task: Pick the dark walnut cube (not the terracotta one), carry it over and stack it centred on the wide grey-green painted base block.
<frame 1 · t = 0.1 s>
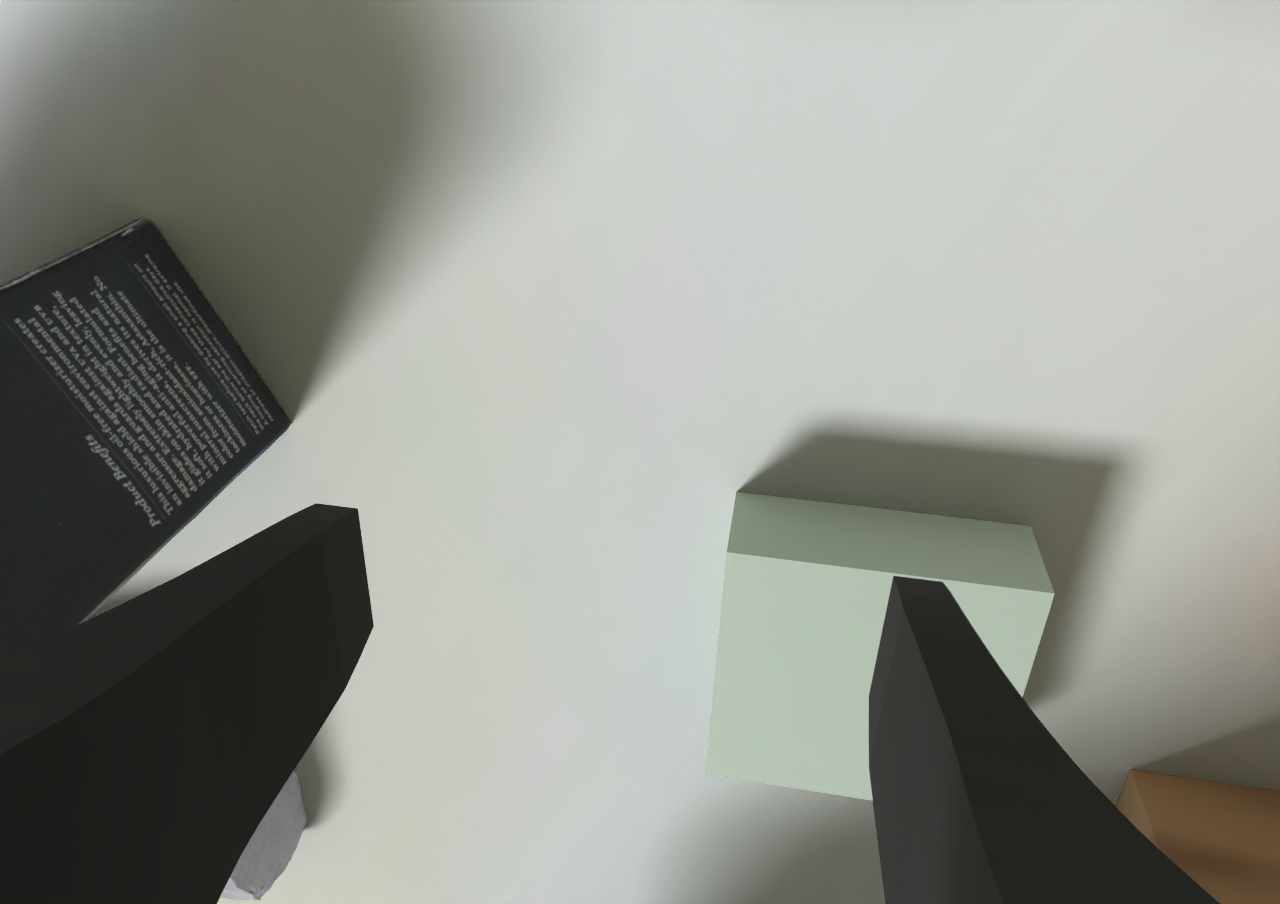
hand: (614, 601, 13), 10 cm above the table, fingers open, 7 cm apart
base block: (859, 613, 25), on the table
stone block: (144, 743, 33), on the table
walnut block: (1191, 837, 26), on the table
small box: (93, 395, 25), on the table
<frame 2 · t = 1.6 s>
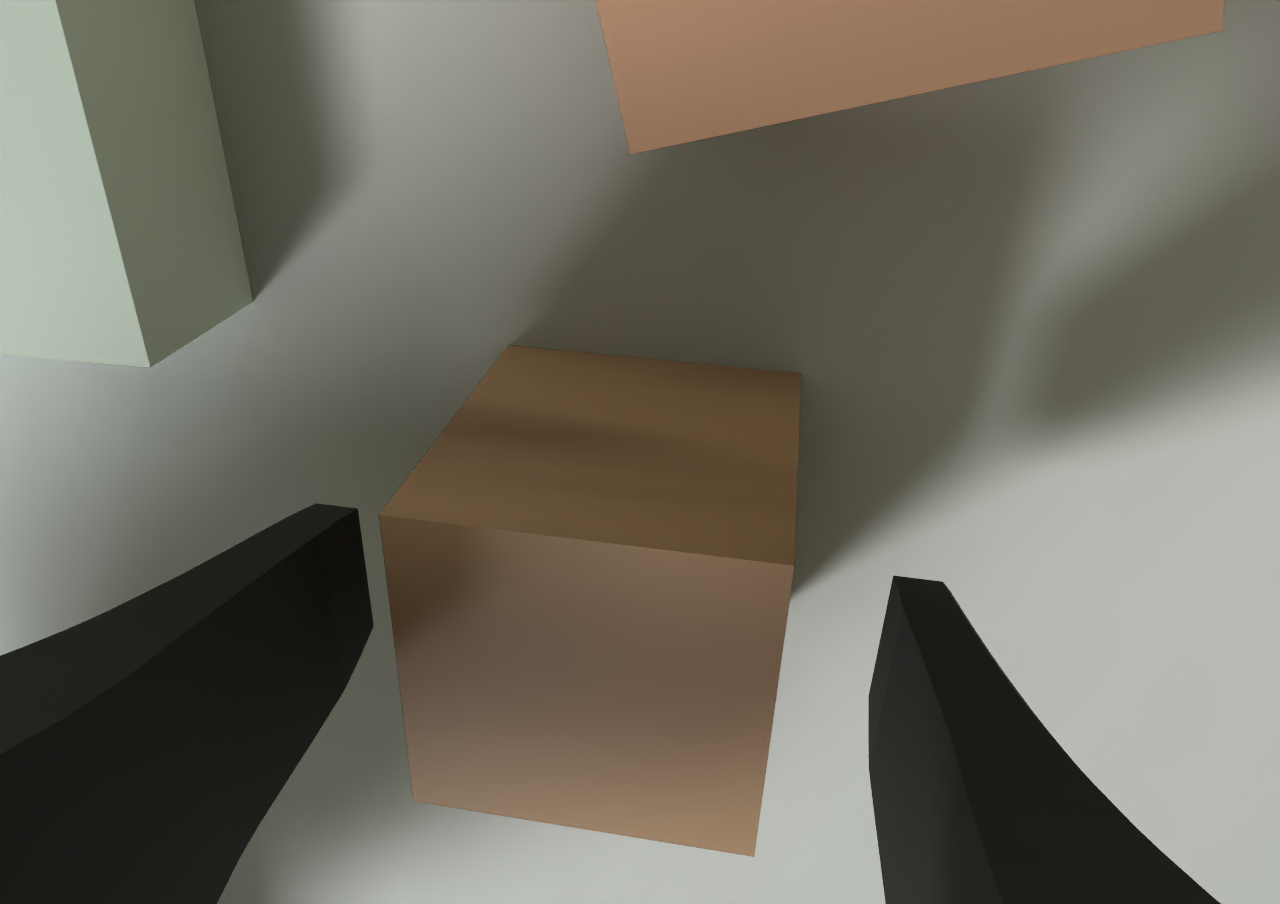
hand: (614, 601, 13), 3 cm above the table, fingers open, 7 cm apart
base block: (2, 54, 14), on the table
walnut block: (646, 484, 15), on the table
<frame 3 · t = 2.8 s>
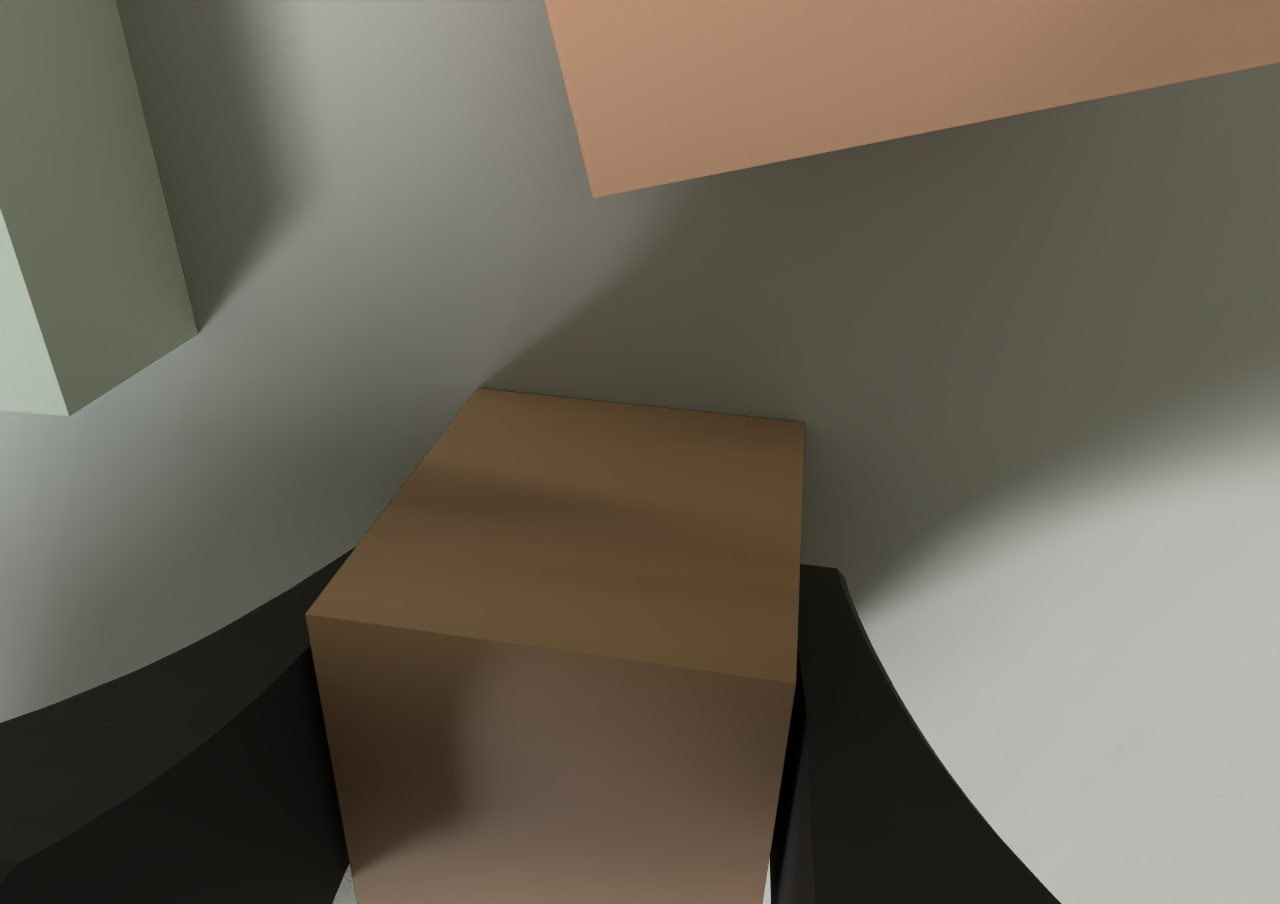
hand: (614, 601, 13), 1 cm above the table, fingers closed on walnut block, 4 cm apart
walnut block: (632, 542, 14), on the table, touching gripper
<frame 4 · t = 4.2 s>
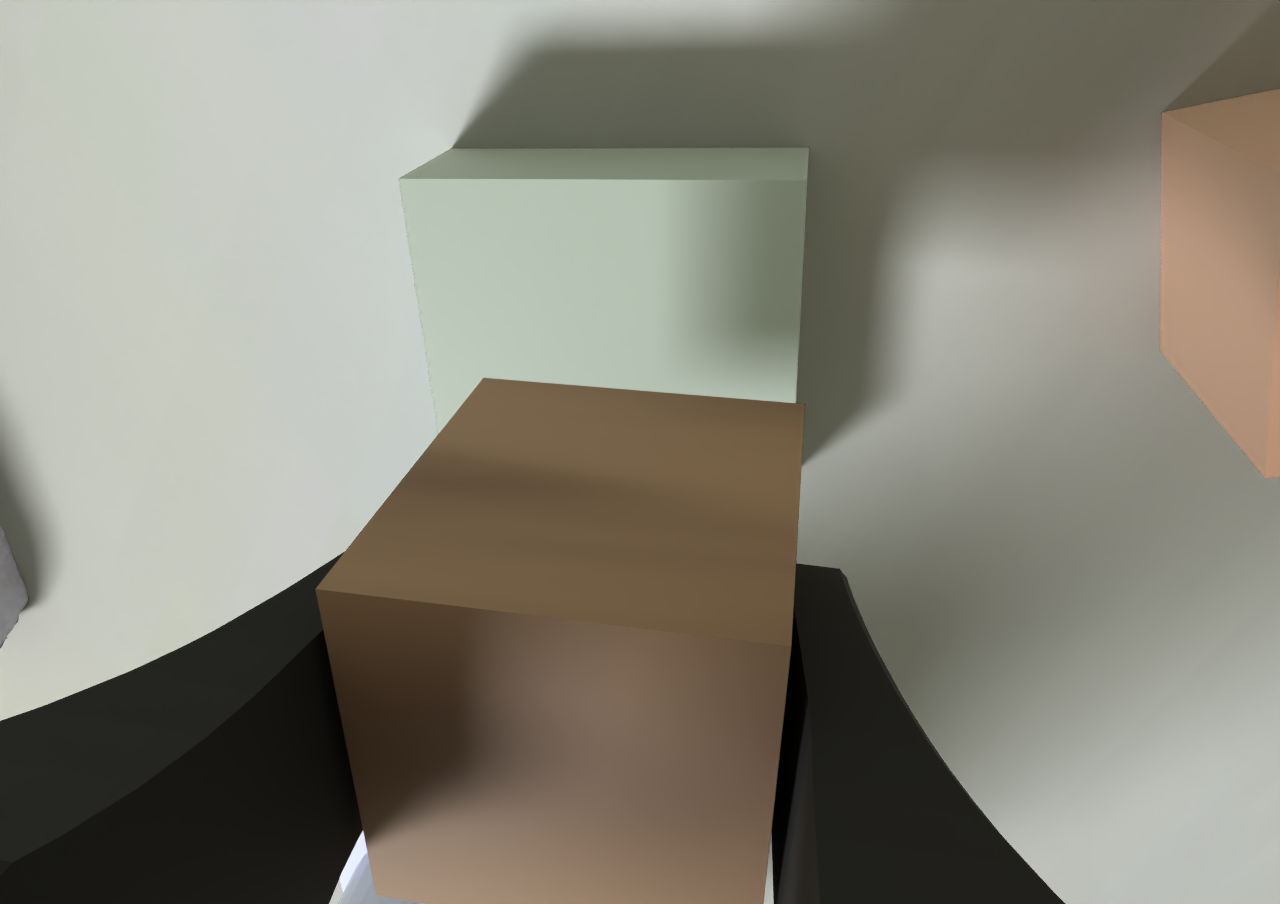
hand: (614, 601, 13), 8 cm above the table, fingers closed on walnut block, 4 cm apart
base block: (634, 314, 20), on the table
walnut block: (638, 527, 14), point 7 cm above the table, touching gripper
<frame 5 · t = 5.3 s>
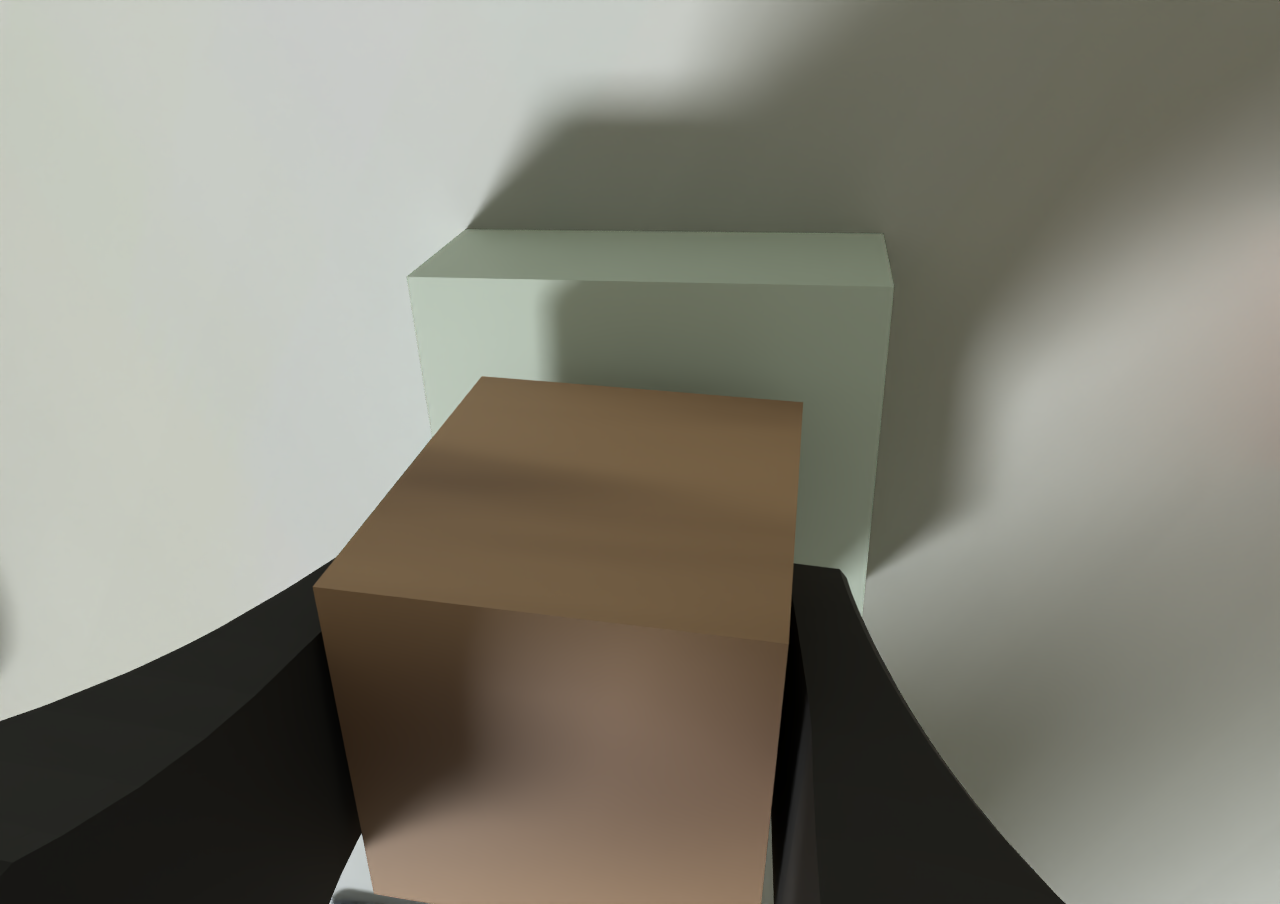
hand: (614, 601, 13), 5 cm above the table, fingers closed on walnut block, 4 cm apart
base block: (673, 411, 18), on the table
walnut block: (637, 525, 14), point 4 cm above the table, touching gripper
when the fingers open (5 cm above the table, at t = 6.0 s): walnut block drops 1 cm, point 3 cm above the table.
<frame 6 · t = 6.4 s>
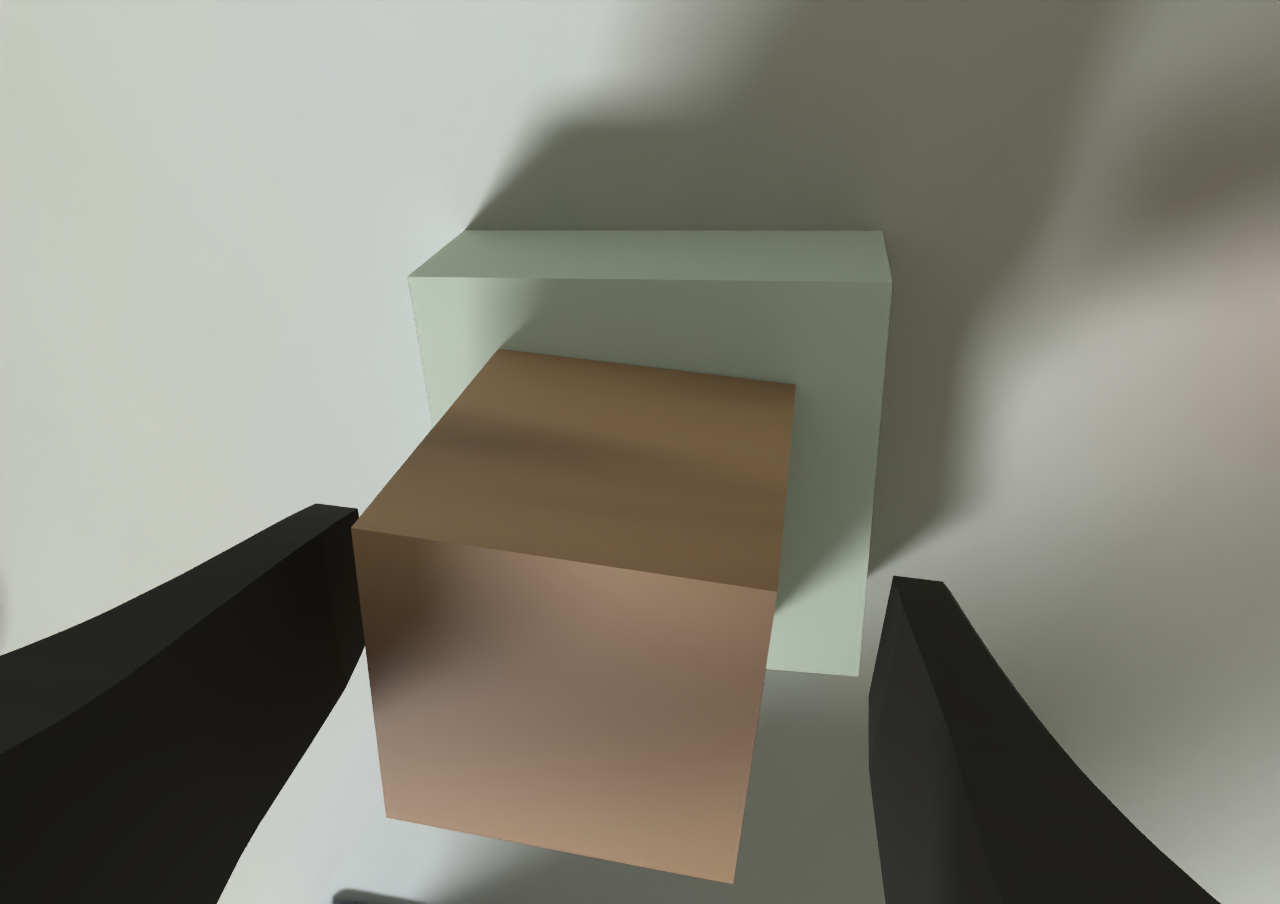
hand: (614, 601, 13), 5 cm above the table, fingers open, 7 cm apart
base block: (674, 409, 18), on the table
walnut block: (636, 494, 15), point 3 cm above the table
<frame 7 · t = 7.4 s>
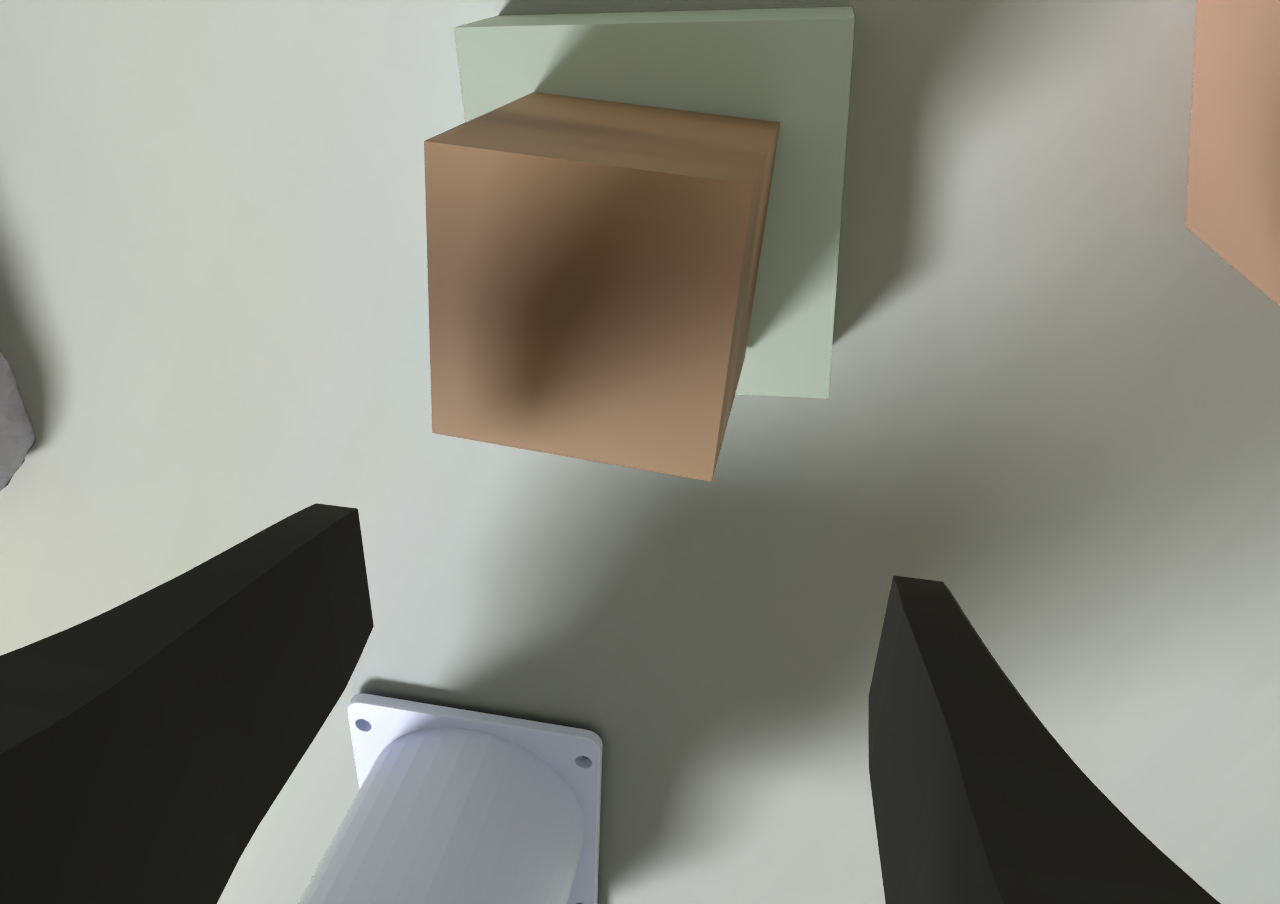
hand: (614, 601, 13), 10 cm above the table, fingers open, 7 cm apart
base block: (675, 186, 20), on the table
walnut block: (643, 230, 18), point 3 cm above the table
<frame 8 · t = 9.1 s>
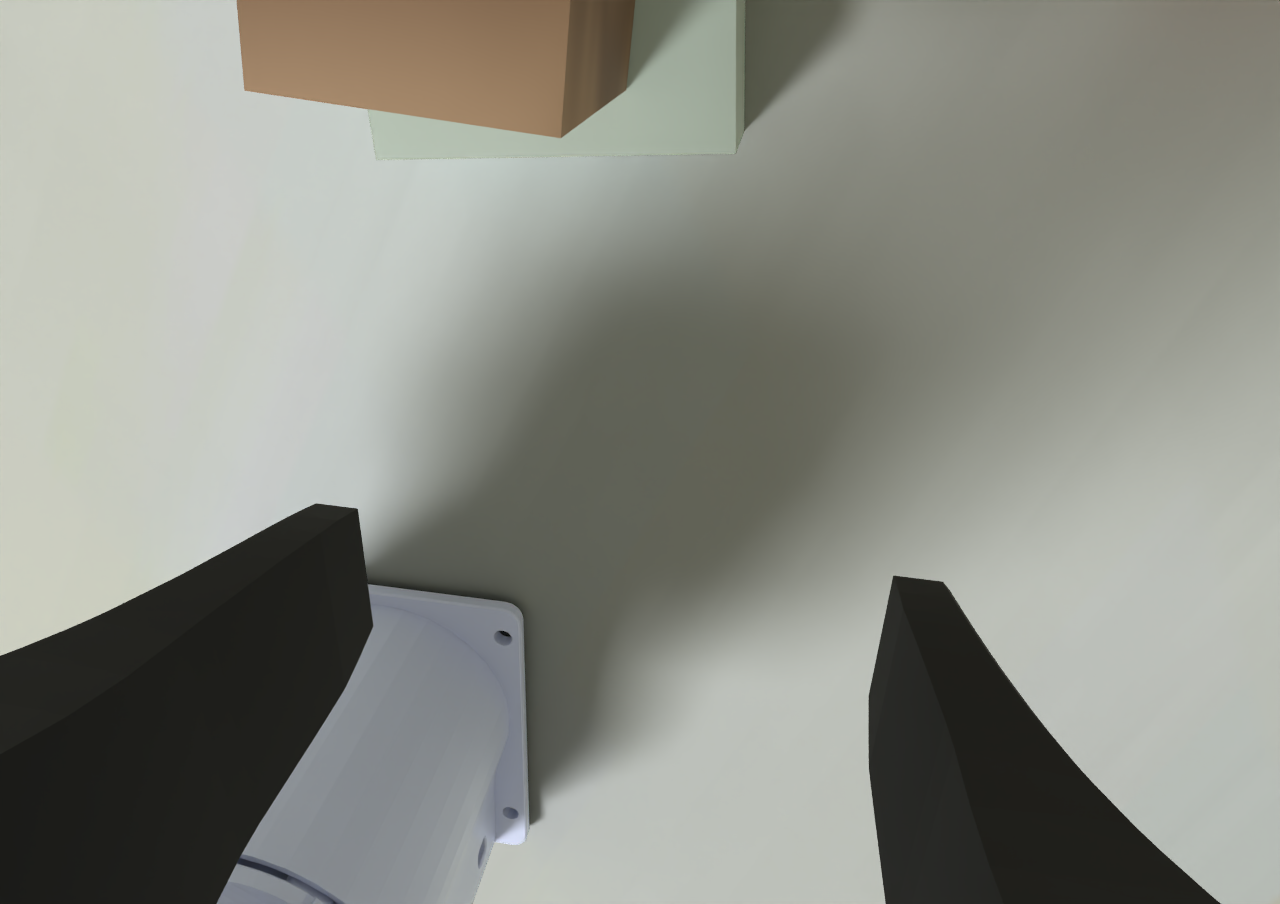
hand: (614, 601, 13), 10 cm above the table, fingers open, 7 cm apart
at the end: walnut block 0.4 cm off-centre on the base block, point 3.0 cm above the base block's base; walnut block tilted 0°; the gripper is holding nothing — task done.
